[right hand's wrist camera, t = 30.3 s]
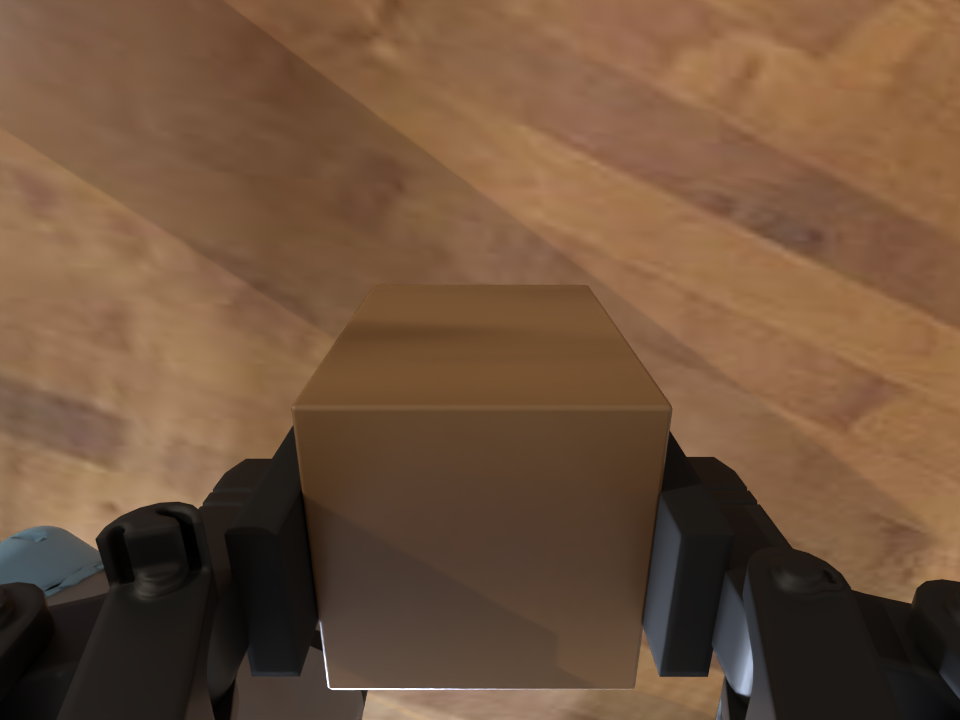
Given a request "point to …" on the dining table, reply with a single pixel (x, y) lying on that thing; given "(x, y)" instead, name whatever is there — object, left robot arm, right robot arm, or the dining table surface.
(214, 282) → the dining table surface
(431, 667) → the block
